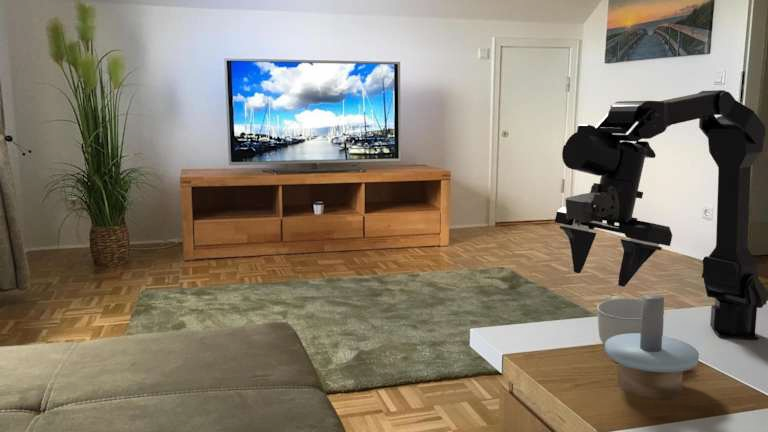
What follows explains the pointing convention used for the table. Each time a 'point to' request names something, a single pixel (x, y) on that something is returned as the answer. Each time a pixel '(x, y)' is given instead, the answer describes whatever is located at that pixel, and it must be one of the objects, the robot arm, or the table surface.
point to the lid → (651, 343)
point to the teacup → (619, 317)
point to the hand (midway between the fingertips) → (598, 279)
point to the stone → (649, 382)
